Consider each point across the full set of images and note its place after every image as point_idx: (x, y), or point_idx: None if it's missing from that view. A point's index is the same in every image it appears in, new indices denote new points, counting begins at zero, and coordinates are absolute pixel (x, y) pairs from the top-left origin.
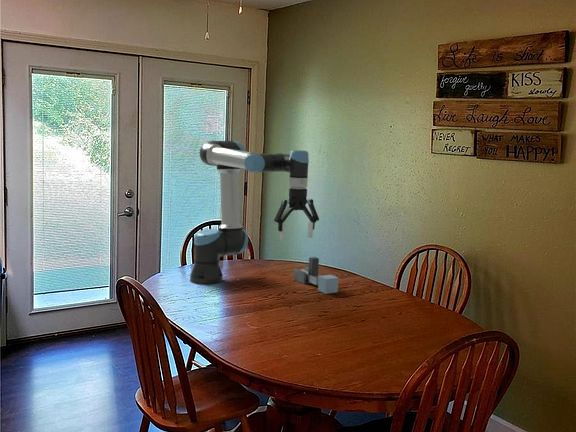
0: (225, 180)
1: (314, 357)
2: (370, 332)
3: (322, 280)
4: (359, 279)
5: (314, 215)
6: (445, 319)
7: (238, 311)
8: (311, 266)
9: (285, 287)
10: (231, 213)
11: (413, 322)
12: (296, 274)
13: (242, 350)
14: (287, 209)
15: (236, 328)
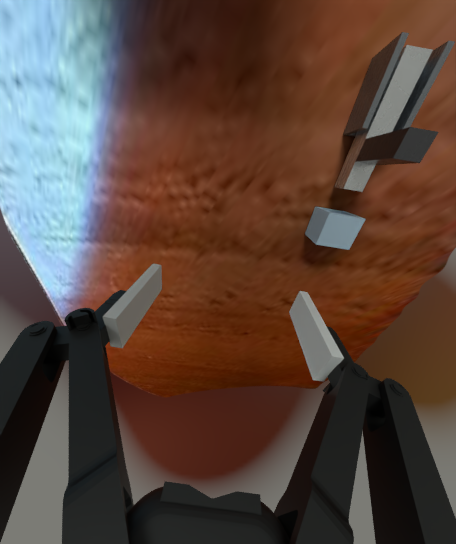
0: None
1: (143, 358)
2: (223, 352)
3: (319, 228)
4: None
5: (370, 437)
6: None
7: (112, 231)
8: (376, 153)
9: (280, 134)
10: None
11: (284, 358)
12: (377, 67)
13: None
14: (73, 483)
15: (93, 284)
